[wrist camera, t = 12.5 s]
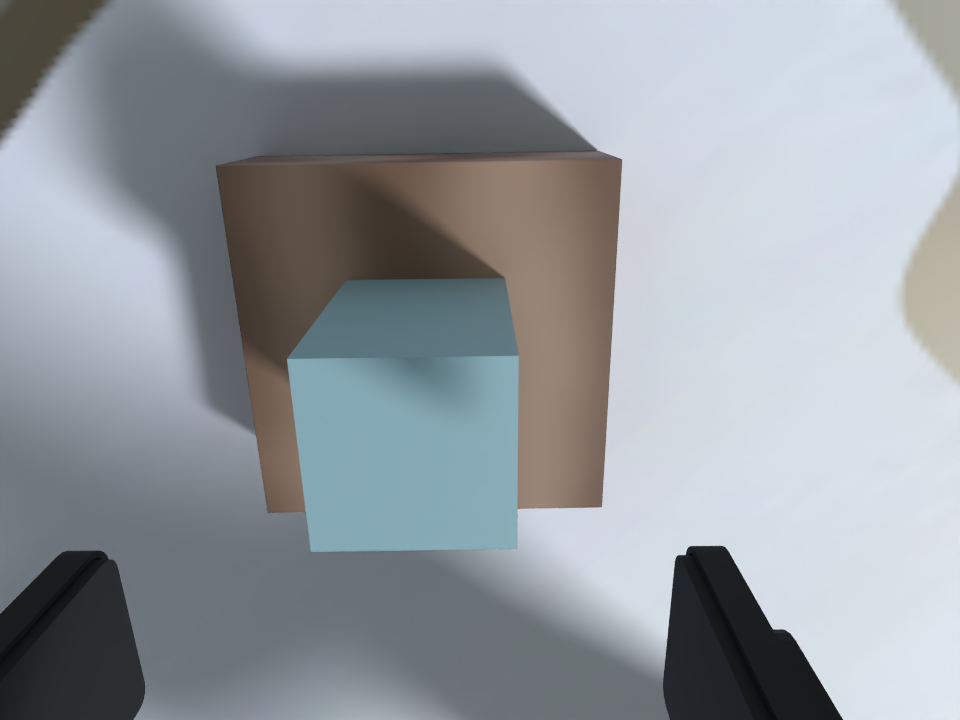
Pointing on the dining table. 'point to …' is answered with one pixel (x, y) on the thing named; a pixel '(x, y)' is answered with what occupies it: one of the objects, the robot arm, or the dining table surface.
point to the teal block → (409, 417)
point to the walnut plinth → (436, 255)
